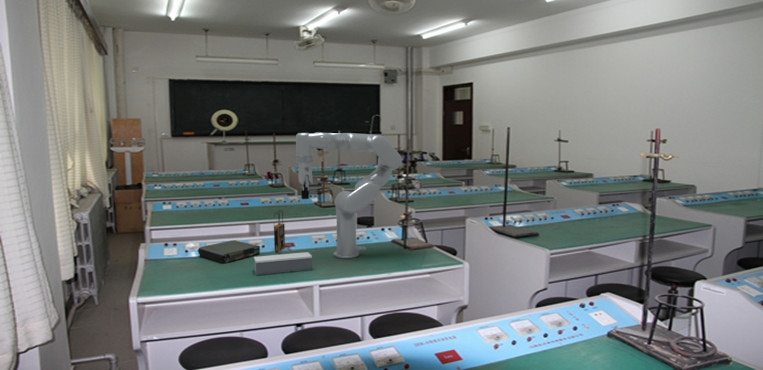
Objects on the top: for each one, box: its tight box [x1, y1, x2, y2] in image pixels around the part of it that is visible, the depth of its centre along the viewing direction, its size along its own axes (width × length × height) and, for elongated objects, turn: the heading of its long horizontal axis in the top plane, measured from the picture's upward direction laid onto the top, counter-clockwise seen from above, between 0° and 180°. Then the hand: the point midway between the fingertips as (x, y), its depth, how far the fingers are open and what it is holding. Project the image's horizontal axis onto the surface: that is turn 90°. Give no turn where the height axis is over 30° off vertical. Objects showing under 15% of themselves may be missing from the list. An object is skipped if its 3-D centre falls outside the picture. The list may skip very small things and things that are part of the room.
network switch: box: [198, 239, 261, 264], centre depth 233 cm, size 23×23×5 cm
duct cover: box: [253, 251, 313, 263], centre depth 210 cm, size 24×9×1 cm, turn 111°
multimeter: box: [273, 210, 293, 255], centre depth 243 cm, size 15×10×20 cm
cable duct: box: [253, 257, 313, 276], centre depth 210 cm, size 24×7×5 cm, turn 111°
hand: (305, 198), depth 224 cm, fingers closed
